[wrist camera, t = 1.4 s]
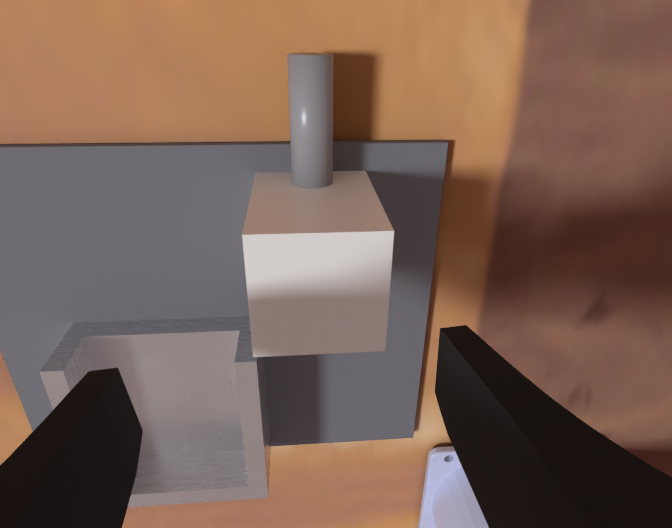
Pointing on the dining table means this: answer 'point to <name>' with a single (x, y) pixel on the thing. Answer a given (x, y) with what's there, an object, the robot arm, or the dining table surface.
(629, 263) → the dining table surface
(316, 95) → the cable plug
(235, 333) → the end holder
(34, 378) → the mat
